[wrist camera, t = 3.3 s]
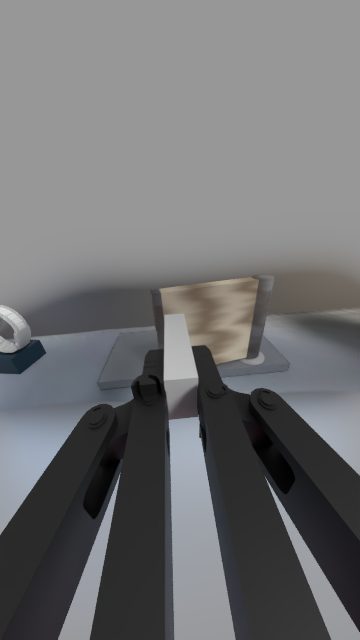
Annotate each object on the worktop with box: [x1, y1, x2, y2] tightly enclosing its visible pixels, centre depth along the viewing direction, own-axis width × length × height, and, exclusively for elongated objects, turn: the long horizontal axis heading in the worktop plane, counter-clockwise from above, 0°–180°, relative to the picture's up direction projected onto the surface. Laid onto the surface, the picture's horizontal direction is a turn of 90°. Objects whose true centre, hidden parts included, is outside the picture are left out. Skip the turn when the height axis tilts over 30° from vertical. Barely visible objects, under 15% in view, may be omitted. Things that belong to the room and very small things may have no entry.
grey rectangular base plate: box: [98, 330, 290, 390], centre depth 30 cm, size 28×13×2 cm, turn 94°
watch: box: [0, 305, 46, 374], centre depth 28 cm, size 6×8×11 cm
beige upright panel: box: [150, 275, 274, 364], centre depth 23 cm, size 15×3×12 cm, turn 104°
